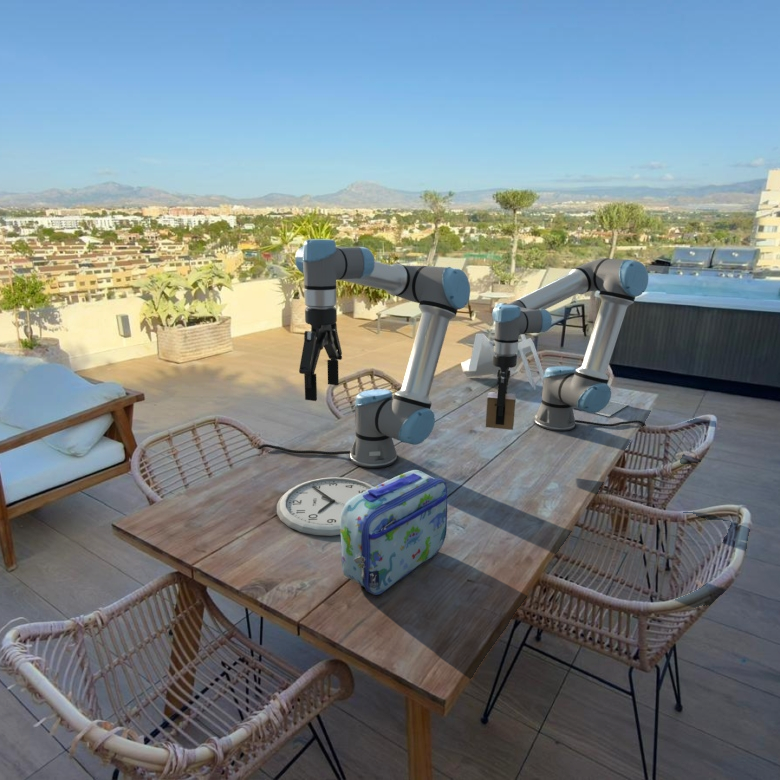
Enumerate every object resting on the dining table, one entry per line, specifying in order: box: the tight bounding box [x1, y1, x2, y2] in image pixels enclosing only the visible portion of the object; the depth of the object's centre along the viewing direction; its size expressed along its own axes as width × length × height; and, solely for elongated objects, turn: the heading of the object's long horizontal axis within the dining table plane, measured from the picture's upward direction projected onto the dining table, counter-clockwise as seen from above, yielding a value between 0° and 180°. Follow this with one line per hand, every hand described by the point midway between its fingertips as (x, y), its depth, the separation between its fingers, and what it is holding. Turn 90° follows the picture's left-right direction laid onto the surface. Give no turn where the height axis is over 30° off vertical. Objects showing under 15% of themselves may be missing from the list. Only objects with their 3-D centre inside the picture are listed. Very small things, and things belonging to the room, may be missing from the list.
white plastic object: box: [460, 333, 545, 391], centre depth 259 cm, size 37×45×31 cm
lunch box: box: [340, 469, 448, 596], centre depth 114 cm, size 26×11×21 cm, turn 134°
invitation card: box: [573, 400, 629, 418], centre depth 226 cm, size 21×1×15 cm
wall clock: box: [276, 476, 375, 537], centre depth 142 cm, size 30×2×30 cm
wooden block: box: [485, 391, 517, 431], centre depth 175 cm, size 6×9×10 cm
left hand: (322, 392), depth 130 cm, fingers open, 13 cm apart
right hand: (500, 420), depth 176 cm, fingers closed on wooden block, 6 cm apart
